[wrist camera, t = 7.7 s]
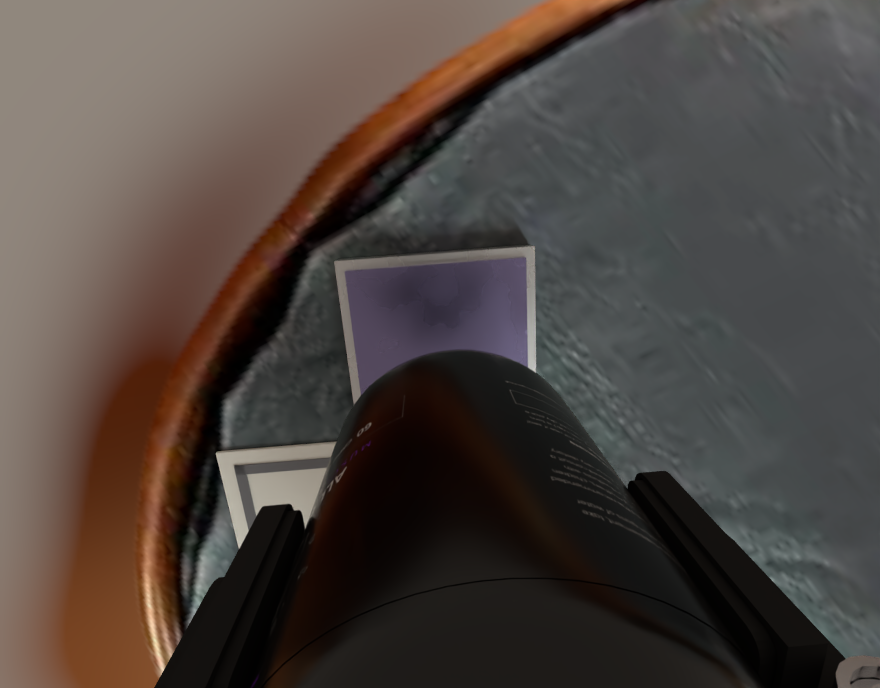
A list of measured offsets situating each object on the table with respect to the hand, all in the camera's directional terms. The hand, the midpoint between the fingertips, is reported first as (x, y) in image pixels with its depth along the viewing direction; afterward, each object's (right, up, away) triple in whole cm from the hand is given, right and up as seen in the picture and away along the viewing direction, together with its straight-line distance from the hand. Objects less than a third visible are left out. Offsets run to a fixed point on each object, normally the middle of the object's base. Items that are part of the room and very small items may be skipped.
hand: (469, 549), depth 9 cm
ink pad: (-1, +4, +15) cm, 16 cm away
